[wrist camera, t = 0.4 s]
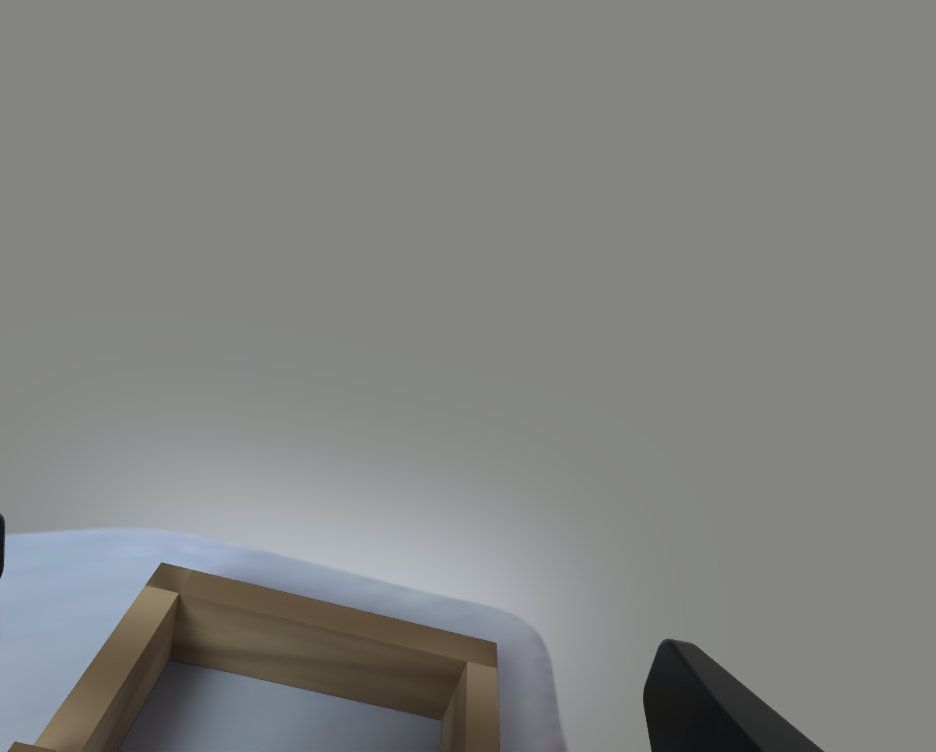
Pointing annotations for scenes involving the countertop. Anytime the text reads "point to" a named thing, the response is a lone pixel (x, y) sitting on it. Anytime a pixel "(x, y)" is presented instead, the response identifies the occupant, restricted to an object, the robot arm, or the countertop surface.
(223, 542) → the countertop surface
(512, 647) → the countertop surface
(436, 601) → the countertop surface
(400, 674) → the rack
